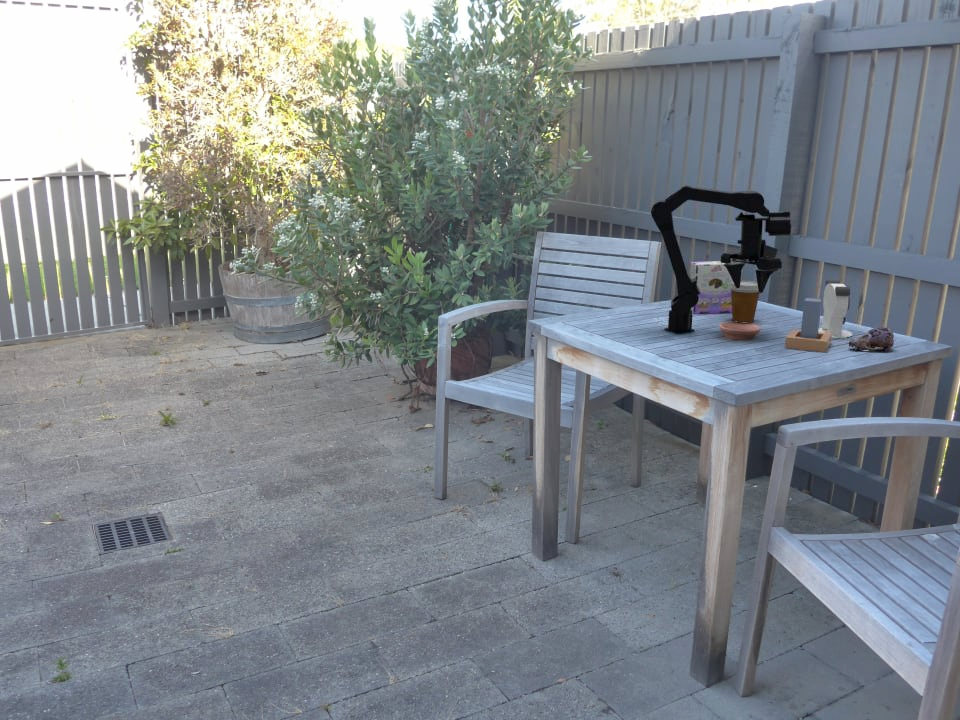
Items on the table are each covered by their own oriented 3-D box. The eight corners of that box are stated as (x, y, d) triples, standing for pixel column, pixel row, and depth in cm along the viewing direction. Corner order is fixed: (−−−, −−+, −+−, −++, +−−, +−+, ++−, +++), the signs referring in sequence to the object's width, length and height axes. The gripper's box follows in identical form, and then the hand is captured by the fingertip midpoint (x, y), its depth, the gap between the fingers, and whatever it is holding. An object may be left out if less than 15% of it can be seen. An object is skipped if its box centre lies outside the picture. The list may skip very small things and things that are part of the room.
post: (799, 346, 232) (804, 300, 228) (801, 343, 235) (806, 297, 232) (814, 348, 230) (819, 301, 226) (816, 345, 233) (821, 299, 230)
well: (784, 347, 231) (786, 337, 230) (791, 339, 239) (792, 329, 239) (825, 352, 226) (826, 341, 225) (830, 343, 234) (832, 333, 234)
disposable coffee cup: (762, 324, 257) (766, 286, 254) (731, 324, 257) (734, 286, 254) (753, 317, 266) (756, 280, 263) (723, 317, 267) (726, 280, 263)
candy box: (728, 309, 278) (732, 260, 274) (734, 313, 273) (738, 263, 268) (687, 310, 277) (690, 260, 273) (693, 314, 272) (696, 263, 267)
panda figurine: (858, 339, 239) (864, 287, 235) (817, 338, 240) (823, 287, 236) (845, 329, 251) (850, 280, 247) (806, 328, 252) (811, 279, 248)
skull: (853, 353, 225) (855, 331, 224) (841, 346, 233) (843, 324, 231) (897, 353, 225) (900, 331, 224) (884, 345, 233) (887, 324, 231)
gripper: (797, 236, 233) (794, 291, 238) (749, 231, 250) (747, 282, 254) (767, 240, 229) (765, 296, 233) (720, 234, 245) (718, 287, 249)
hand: (749, 290), depth 242 cm, fingers open, 9 cm apart
